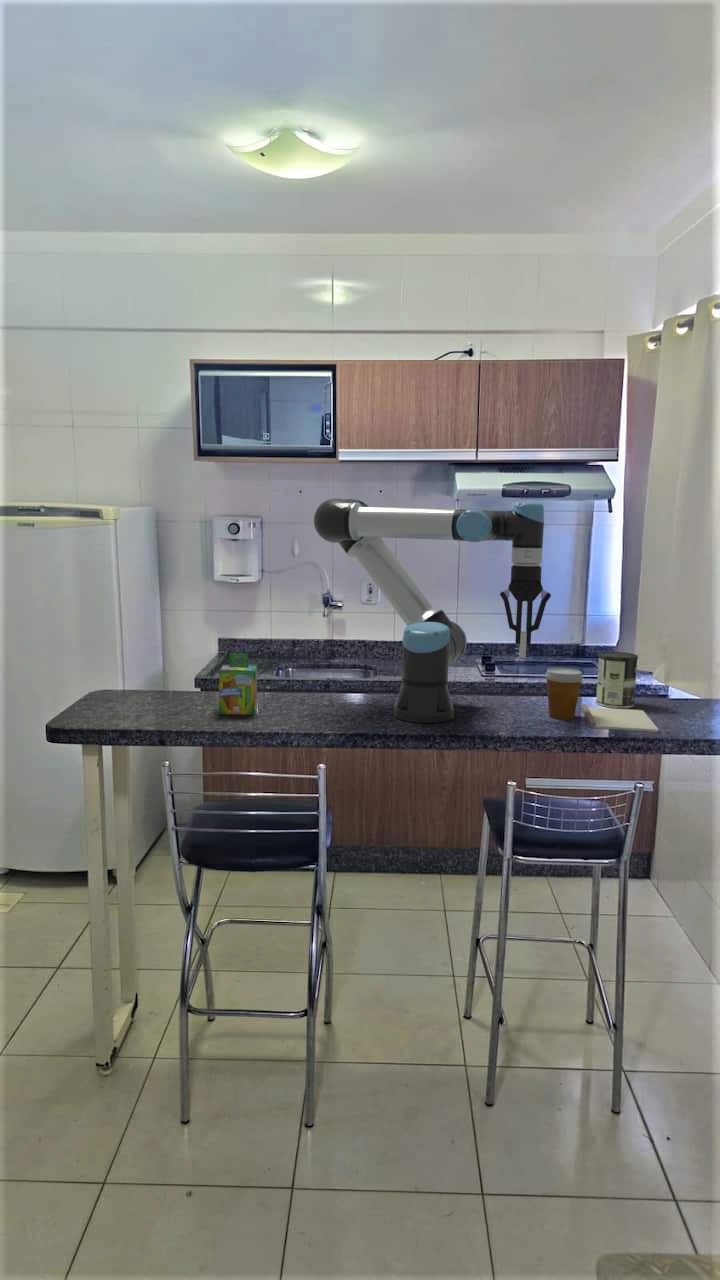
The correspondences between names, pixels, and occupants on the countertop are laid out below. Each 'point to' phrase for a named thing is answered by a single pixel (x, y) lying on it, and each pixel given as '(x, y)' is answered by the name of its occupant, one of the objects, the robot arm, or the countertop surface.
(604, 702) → the coffee can
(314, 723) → the countertop surface
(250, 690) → the chalk box
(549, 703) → the disposable coffee cup
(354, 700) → the countertop surface
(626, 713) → the cream flat rectangular board
